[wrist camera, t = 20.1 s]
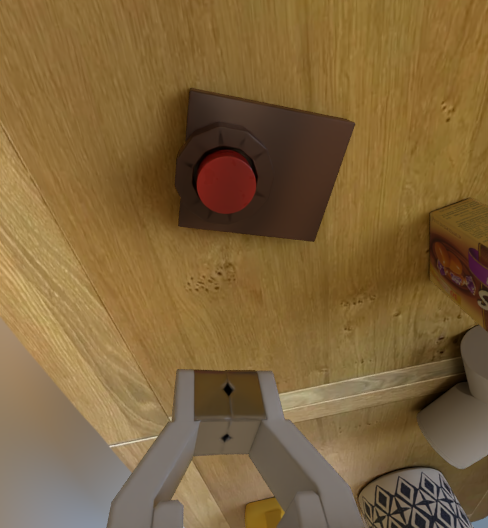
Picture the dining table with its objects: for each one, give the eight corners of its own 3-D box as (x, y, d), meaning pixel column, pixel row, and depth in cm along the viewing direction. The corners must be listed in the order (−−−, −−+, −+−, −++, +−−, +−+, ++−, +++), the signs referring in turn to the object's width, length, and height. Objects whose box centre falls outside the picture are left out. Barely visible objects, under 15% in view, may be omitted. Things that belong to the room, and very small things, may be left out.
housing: (173, 217, 27) (170, 236, 24) (183, 86, 22) (181, 91, 19) (308, 233, 30) (320, 252, 27) (346, 119, 24) (366, 127, 21)
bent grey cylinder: (537, 389, 48) (538, 310, 38) (590, 467, 40) (610, 394, 30) (415, 409, 55) (386, 346, 44) (439, 479, 47) (411, 423, 36)
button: (193, 200, 23) (193, 210, 22) (200, 144, 21) (200, 151, 20) (246, 207, 24) (249, 217, 23) (257, 154, 22) (261, 161, 20)
